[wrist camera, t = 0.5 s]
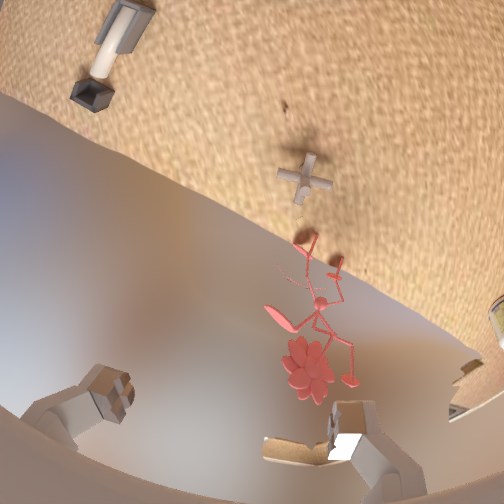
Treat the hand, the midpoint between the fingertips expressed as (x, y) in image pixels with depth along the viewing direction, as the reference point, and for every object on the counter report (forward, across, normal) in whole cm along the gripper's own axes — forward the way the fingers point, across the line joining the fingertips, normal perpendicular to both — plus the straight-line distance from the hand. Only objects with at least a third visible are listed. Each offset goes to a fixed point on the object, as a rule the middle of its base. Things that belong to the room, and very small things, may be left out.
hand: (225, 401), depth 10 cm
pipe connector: (+51, -4, -5) cm, 51 cm away
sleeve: (+41, +29, -35) cm, 61 cm away
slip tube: (+40, +31, -32) cm, 60 cm away
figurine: (+58, -6, +17) cm, 61 cm away
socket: (+45, +38, -23) cm, 63 cm away
